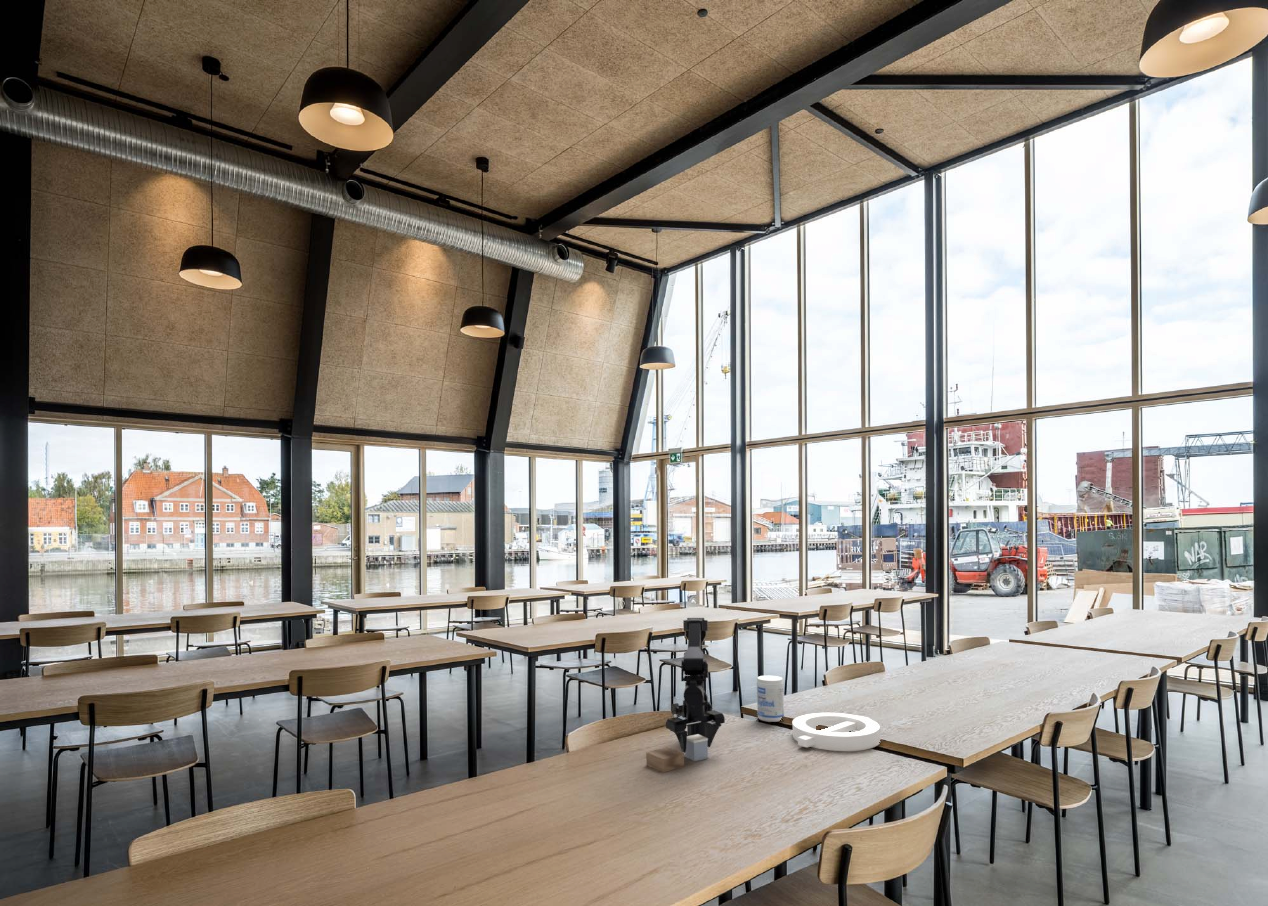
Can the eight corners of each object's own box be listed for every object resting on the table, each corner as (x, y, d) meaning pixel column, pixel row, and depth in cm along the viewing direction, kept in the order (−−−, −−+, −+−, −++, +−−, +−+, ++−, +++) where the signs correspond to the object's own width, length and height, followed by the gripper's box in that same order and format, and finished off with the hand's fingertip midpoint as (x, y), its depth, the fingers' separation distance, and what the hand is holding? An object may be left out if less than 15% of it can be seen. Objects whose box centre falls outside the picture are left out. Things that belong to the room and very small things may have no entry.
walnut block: (667, 760, 217) (666, 746, 217) (684, 767, 210) (683, 753, 211) (646, 766, 212) (646, 752, 212) (663, 773, 205) (663, 759, 206)
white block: (698, 753, 221) (698, 734, 222) (708, 758, 217) (707, 738, 218) (684, 756, 219) (684, 736, 219) (694, 761, 214) (693, 741, 215)
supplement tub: (755, 721, 256) (754, 679, 257) (760, 714, 264) (758, 674, 266) (782, 723, 252) (780, 681, 254) (786, 716, 261) (784, 675, 263)
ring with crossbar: (869, 726, 247) (868, 712, 248) (890, 752, 220) (889, 736, 220) (788, 726, 250) (787, 712, 251) (798, 751, 222) (798, 736, 223)
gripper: (704, 688, 231) (705, 738, 230) (655, 696, 222) (656, 748, 220) (724, 695, 222) (726, 746, 220) (675, 704, 212) (676, 757, 211)
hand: (696, 749), depth 218 cm, fingers open, 9 cm apart
